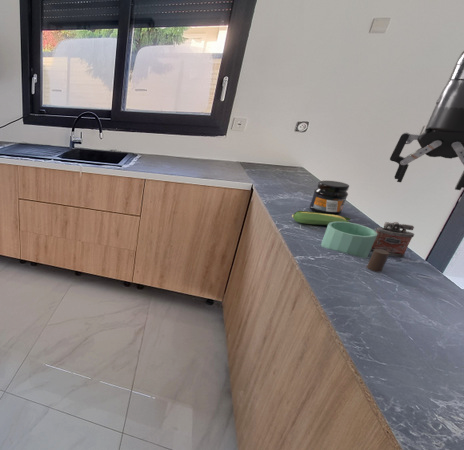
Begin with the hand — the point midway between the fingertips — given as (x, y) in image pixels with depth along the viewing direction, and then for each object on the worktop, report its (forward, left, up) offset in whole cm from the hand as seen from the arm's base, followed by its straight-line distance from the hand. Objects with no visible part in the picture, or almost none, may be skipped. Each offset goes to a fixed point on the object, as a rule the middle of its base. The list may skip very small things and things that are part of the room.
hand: (426, 185), depth 67 cm
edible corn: (+19, -41, -28) cm, 53 cm away
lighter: (+1, -29, -28) cm, 41 cm away
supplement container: (+22, -58, -28) cm, 68 cm away
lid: (+2, -10, -28) cm, 29 cm away
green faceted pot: (+10, -22, -28) cm, 37 cm away
